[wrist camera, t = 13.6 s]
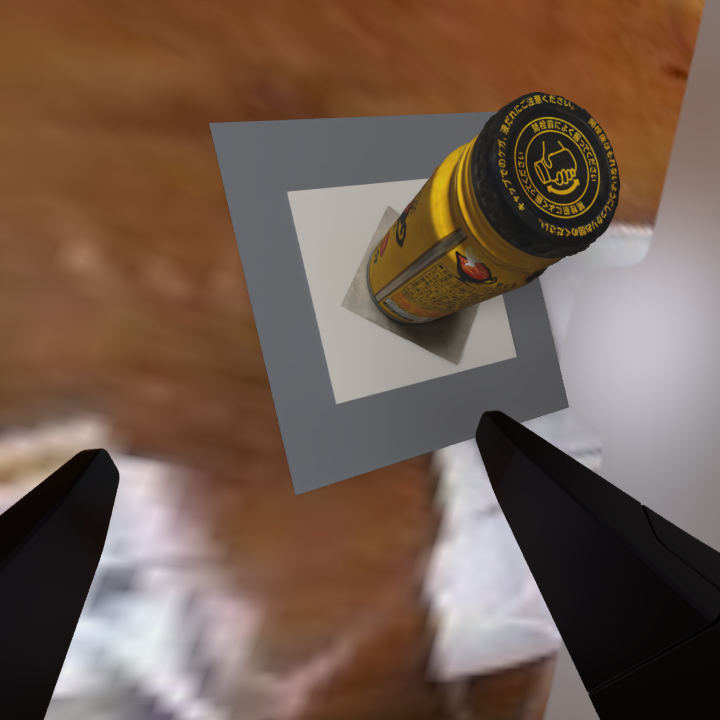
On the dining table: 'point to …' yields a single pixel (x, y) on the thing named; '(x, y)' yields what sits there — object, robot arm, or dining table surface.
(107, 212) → the dining table surface
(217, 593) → the dining table surface
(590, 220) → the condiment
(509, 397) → the grey square board
